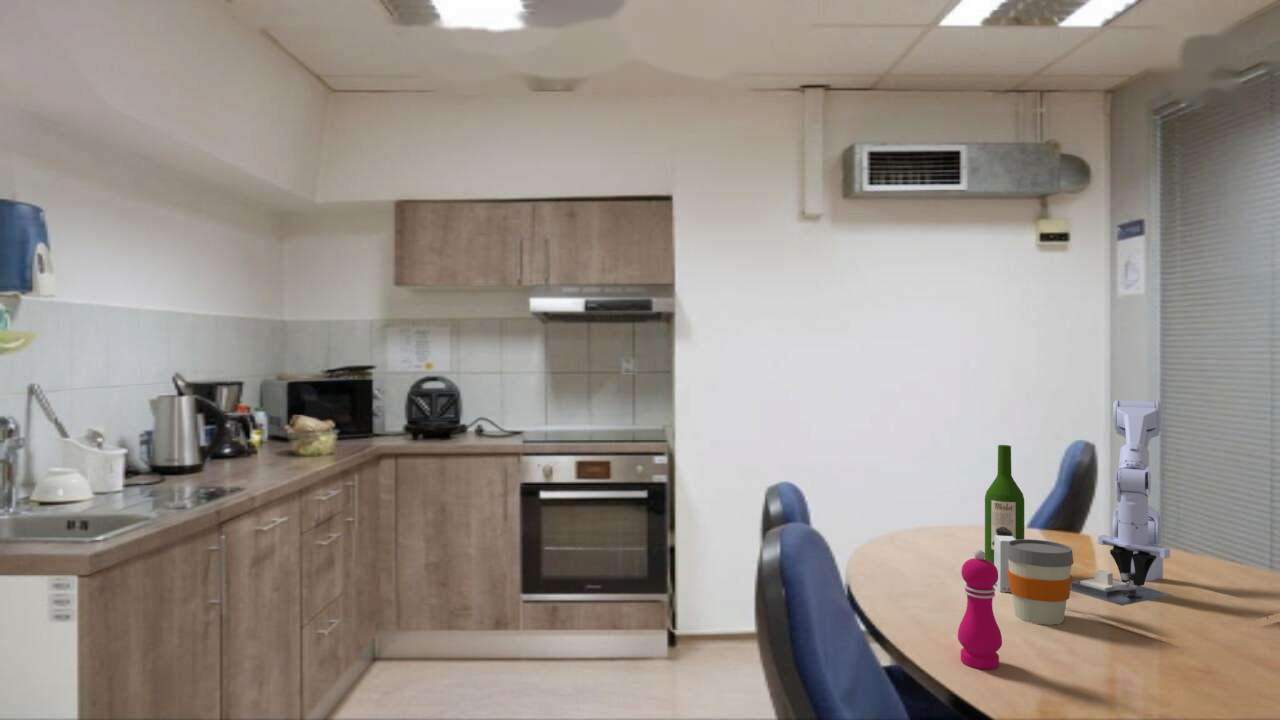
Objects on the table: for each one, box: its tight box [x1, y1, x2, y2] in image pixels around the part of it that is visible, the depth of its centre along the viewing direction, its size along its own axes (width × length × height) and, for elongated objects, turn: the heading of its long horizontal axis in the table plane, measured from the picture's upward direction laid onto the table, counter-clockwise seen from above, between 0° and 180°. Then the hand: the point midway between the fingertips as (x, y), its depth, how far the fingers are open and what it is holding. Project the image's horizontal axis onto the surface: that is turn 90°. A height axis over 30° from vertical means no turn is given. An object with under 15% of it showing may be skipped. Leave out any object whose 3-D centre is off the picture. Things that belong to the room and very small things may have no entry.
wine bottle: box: [984, 444, 1025, 564], centre depth 191 cm, size 9×9×32 cm
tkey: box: [1112, 572, 1137, 594], centre depth 170 cm, size 1×7×5 cm, turn 98°
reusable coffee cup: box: [1006, 538, 1075, 626], centre depth 159 cm, size 13×13×15 cm
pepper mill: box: [957, 549, 1003, 670], centre depth 135 cm, size 7×7×20 cm
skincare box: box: [994, 535, 1016, 593], centre depth 179 cm, size 6×4×12 cm
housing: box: [1070, 577, 1173, 606], centre depth 175 cm, size 18×16×2 cm
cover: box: [1079, 569, 1128, 591], centre depth 177 cm, size 8×6×4 cm
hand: (1132, 583), depth 171 cm, fingers open, 2 cm apart
